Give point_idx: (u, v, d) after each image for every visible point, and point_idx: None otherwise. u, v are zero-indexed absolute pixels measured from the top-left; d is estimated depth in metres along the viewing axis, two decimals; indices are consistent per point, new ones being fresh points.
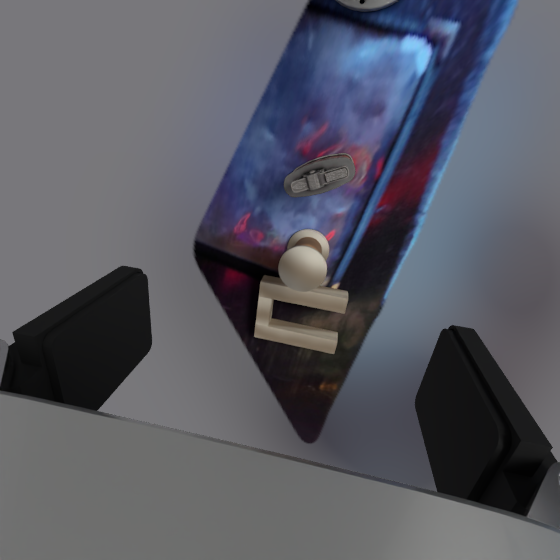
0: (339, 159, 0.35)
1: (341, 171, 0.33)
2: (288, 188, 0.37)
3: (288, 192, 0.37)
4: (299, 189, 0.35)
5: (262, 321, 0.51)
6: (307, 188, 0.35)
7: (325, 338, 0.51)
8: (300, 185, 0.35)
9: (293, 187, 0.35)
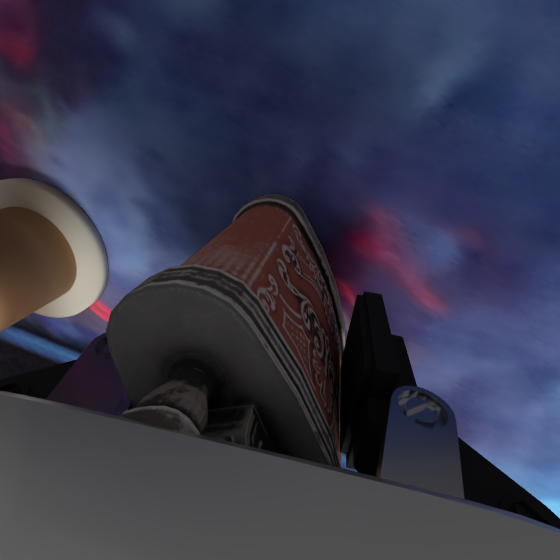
0: None
1: None
2: (153, 313, 0.05)
3: (127, 312, 0.05)
4: None
5: None
6: None
7: None
8: None
9: None
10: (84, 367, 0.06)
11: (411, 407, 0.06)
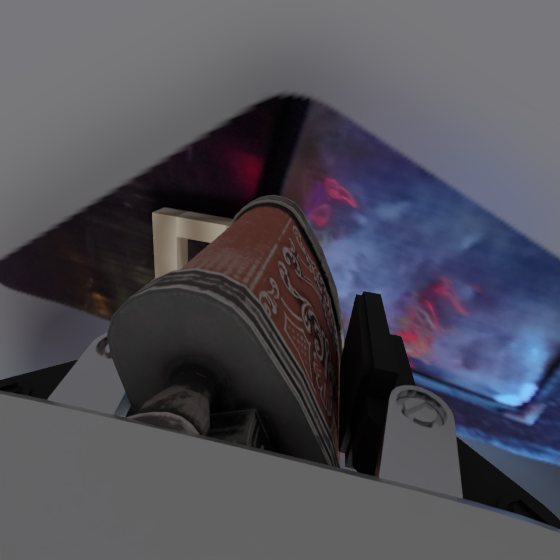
0: None
1: None
2: (155, 318, 0.05)
3: (128, 316, 0.05)
4: None
5: (183, 228, 0.32)
6: None
7: None
8: None
9: None
10: (86, 367, 0.06)
11: (409, 407, 0.06)
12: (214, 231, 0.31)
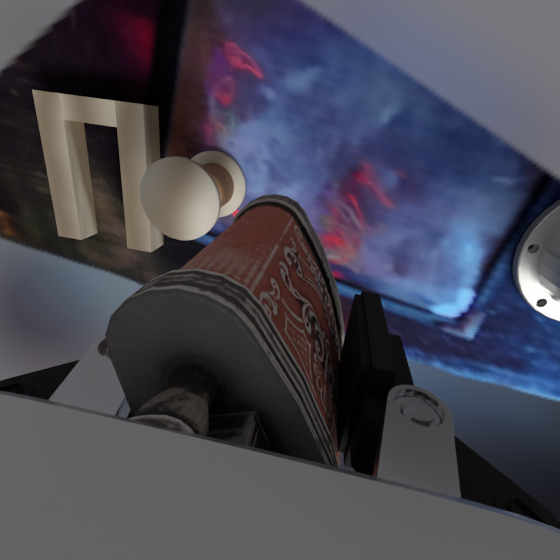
0: None
1: None
2: (154, 318, 0.05)
3: (127, 316, 0.05)
4: None
5: (68, 108, 0.28)
6: None
7: (79, 221, 0.32)
8: None
9: None
10: (88, 367, 0.06)
11: (407, 406, 0.06)
12: (103, 109, 0.27)
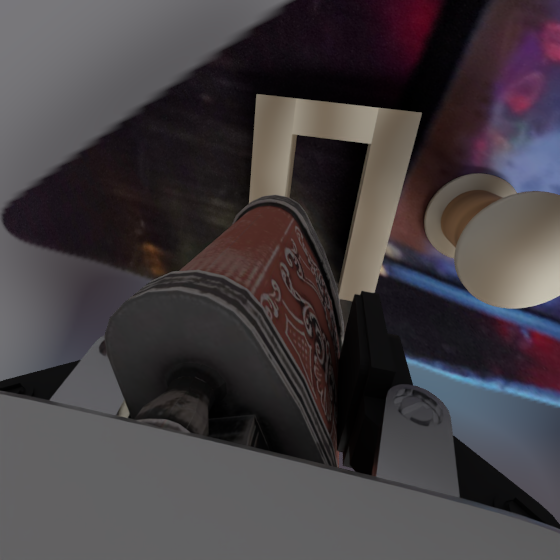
0: None
1: None
2: (153, 320, 0.05)
3: (126, 318, 0.05)
4: None
5: (305, 118, 0.20)
6: None
7: None
8: None
9: None
10: (89, 367, 0.06)
11: (406, 405, 0.06)
12: (357, 120, 0.20)
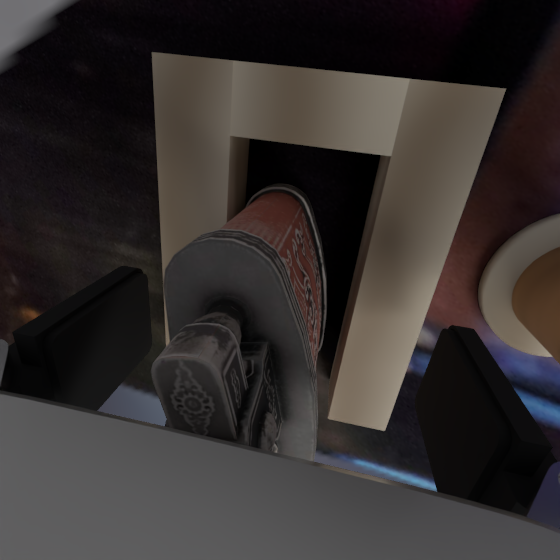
0: None
1: None
2: (207, 261, 0.07)
3: (187, 256, 0.07)
4: (168, 392, 0.05)
5: (254, 103, 0.10)
6: None
7: None
8: (193, 405, 0.05)
9: (182, 366, 0.05)
10: None
11: None
12: (362, 106, 0.09)
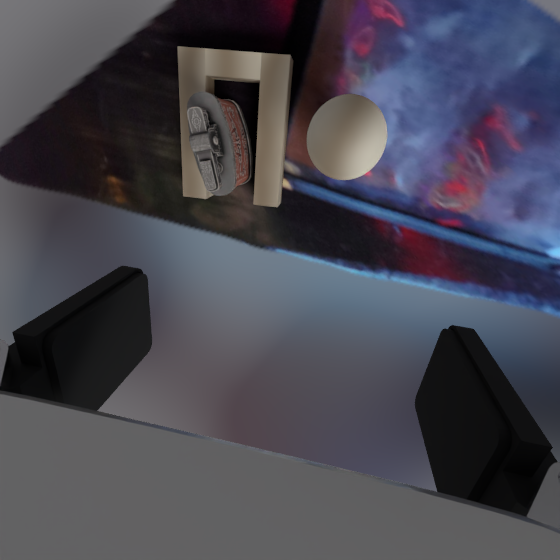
0: (232, 177, 0.28)
1: (212, 182, 0.26)
2: (198, 98, 0.26)
3: (193, 97, 0.26)
4: (190, 118, 0.24)
5: (213, 63, 0.29)
6: (192, 132, 0.25)
7: None
8: (196, 121, 0.24)
9: (194, 110, 0.24)
10: None
11: None
12: (248, 62, 0.28)
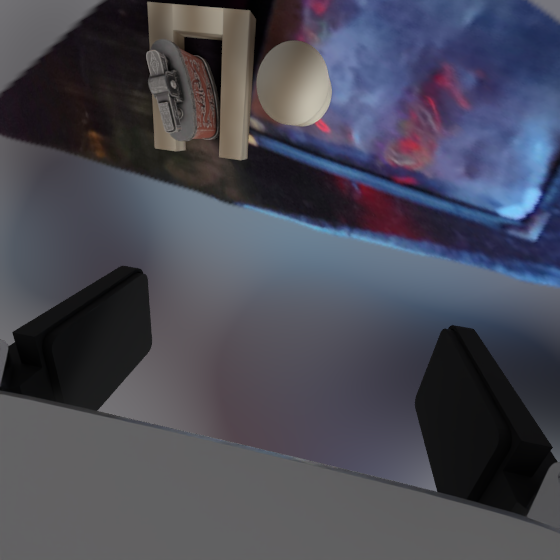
0: (192, 122, 0.30)
1: (170, 124, 0.28)
2: (160, 45, 0.28)
3: (155, 45, 0.28)
4: (149, 61, 0.27)
5: (179, 18, 0.31)
6: (151, 74, 0.27)
7: None
8: (154, 64, 0.27)
9: (152, 53, 0.26)
10: None
11: None
12: (211, 17, 0.31)
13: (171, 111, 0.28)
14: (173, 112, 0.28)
